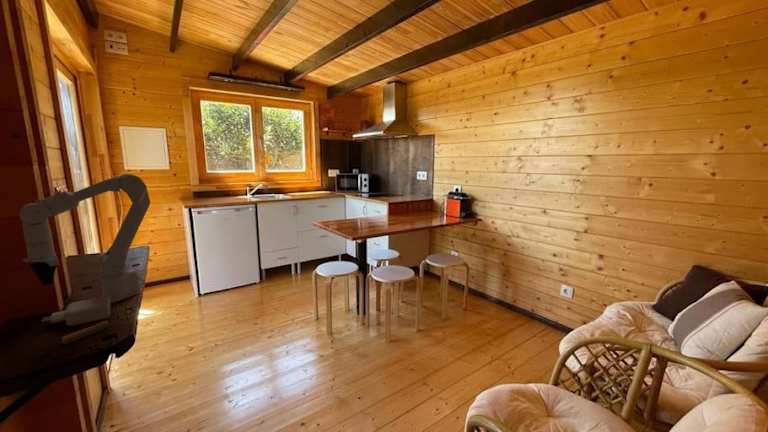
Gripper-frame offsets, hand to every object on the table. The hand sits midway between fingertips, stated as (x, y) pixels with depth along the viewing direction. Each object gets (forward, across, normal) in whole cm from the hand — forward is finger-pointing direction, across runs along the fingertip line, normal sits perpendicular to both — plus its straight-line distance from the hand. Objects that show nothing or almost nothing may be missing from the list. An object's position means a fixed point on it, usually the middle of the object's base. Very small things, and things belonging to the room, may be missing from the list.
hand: (47, 284), depth 101 cm
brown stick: (+9, +26, -2) cm, 28 cm away
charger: (+10, +13, +1) cm, 16 cm away
